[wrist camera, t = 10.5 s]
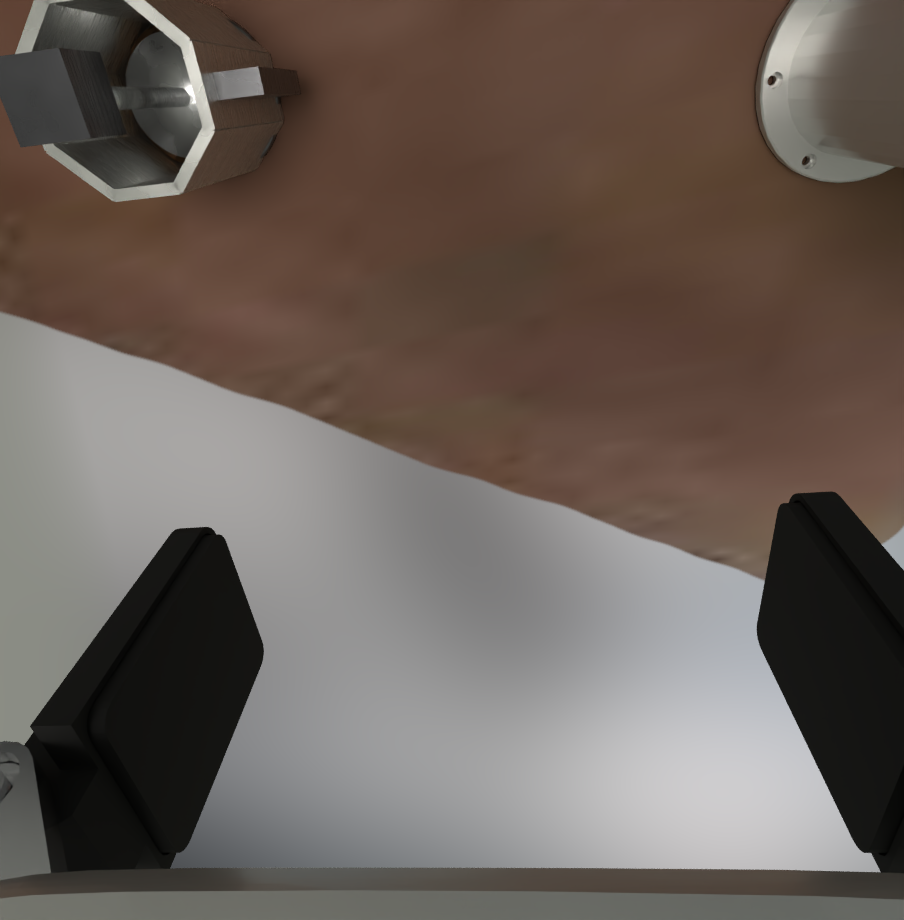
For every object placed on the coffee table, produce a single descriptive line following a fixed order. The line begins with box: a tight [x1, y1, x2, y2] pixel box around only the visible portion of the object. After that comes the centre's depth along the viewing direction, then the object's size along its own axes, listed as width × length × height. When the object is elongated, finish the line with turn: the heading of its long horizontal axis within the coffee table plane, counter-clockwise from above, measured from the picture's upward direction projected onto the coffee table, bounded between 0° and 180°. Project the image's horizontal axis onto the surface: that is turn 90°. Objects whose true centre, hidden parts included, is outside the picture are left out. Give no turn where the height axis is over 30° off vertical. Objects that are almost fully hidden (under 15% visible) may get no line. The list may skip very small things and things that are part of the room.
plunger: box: [0, 31, 202, 158], centre depth 32 cm, size 7×7×14 cm
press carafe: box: [15, 0, 301, 202], centre depth 36 cm, size 12×9×12 cm
